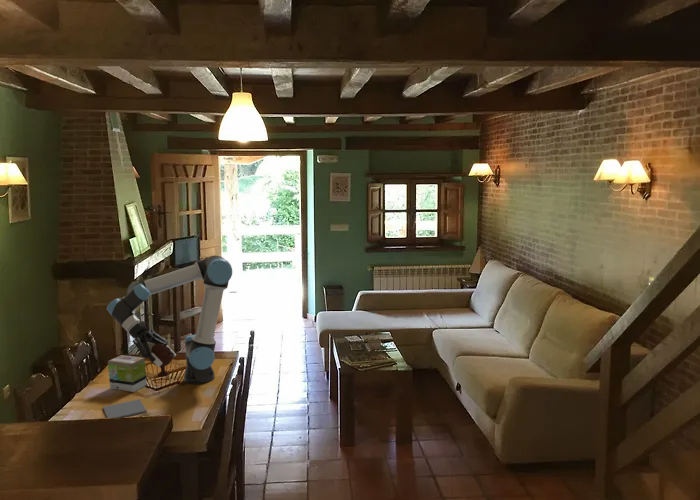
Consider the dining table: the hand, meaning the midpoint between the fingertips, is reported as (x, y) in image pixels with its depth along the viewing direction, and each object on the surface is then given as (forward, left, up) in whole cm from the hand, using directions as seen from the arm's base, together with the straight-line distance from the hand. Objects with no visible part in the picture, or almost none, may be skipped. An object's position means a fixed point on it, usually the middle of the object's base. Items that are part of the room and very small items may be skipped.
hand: (167, 361), depth 282 cm
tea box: (+13, -33, -20) cm, 41 cm away
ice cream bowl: (+2, -2, -7) cm, 7 cm away
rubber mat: (+20, -3, -20) cm, 28 cm away
